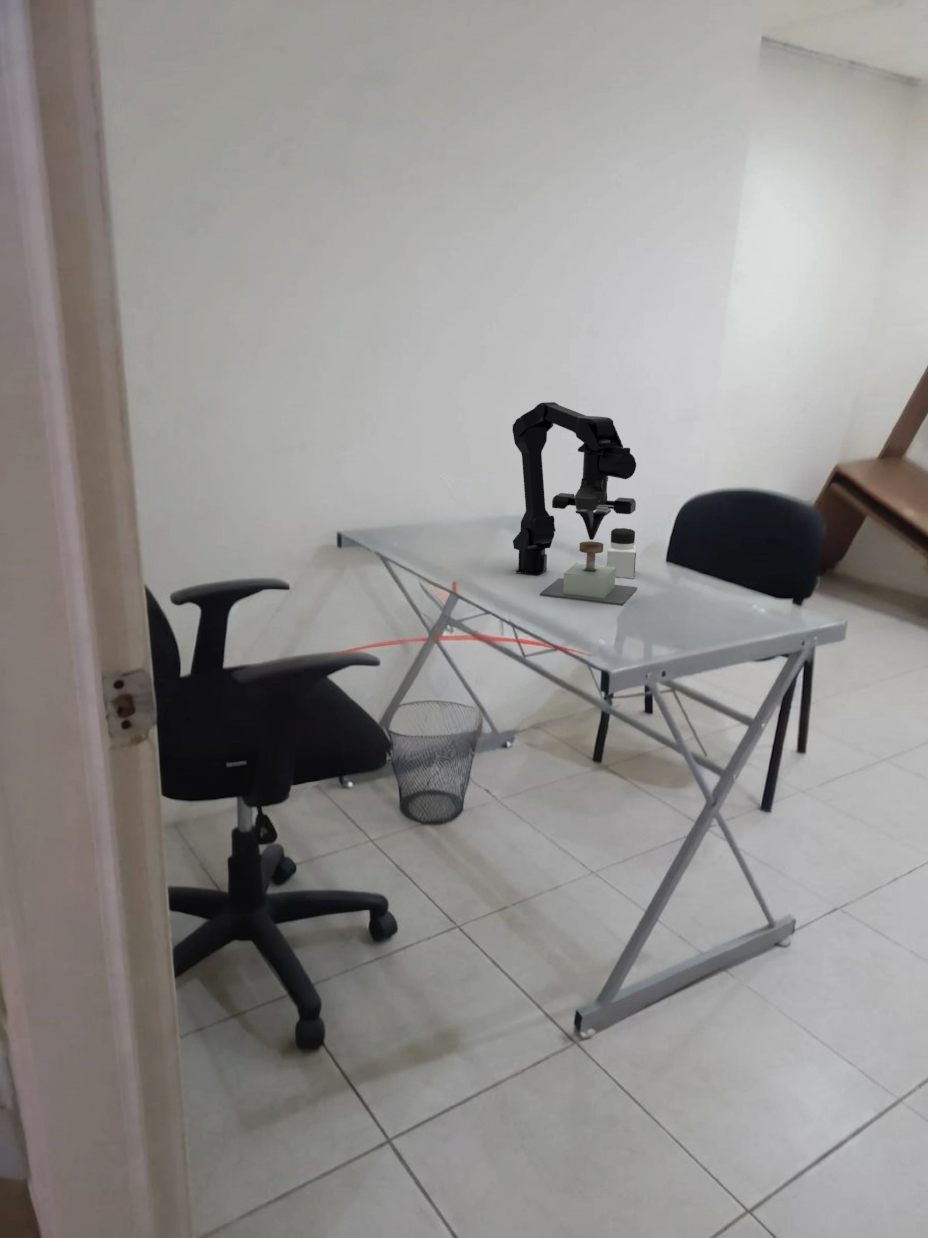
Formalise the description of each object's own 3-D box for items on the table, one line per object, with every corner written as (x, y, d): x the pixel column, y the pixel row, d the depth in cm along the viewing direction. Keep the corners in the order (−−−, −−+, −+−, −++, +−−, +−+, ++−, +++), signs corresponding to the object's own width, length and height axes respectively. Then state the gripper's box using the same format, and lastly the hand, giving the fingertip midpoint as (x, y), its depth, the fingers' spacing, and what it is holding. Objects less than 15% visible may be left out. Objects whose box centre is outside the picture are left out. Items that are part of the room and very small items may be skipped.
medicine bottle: (634, 578, 220) (637, 532, 216) (605, 577, 221) (608, 531, 217) (634, 571, 226) (637, 526, 223) (607, 570, 228) (609, 525, 224)
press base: (539, 595, 205) (540, 573, 203) (558, 580, 218) (559, 558, 216) (622, 605, 197) (624, 582, 196) (637, 589, 211) (638, 567, 209)
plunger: (575, 572, 205) (576, 545, 203) (582, 566, 210) (583, 540, 208) (598, 574, 203) (600, 547, 201) (604, 569, 207) (606, 542, 205)
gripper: (545, 475, 195) (543, 542, 200) (627, 481, 188) (622, 550, 193) (560, 469, 205) (557, 533, 210) (638, 474, 198) (633, 540, 203)
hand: (591, 539), depth 204 cm, fingers closed
